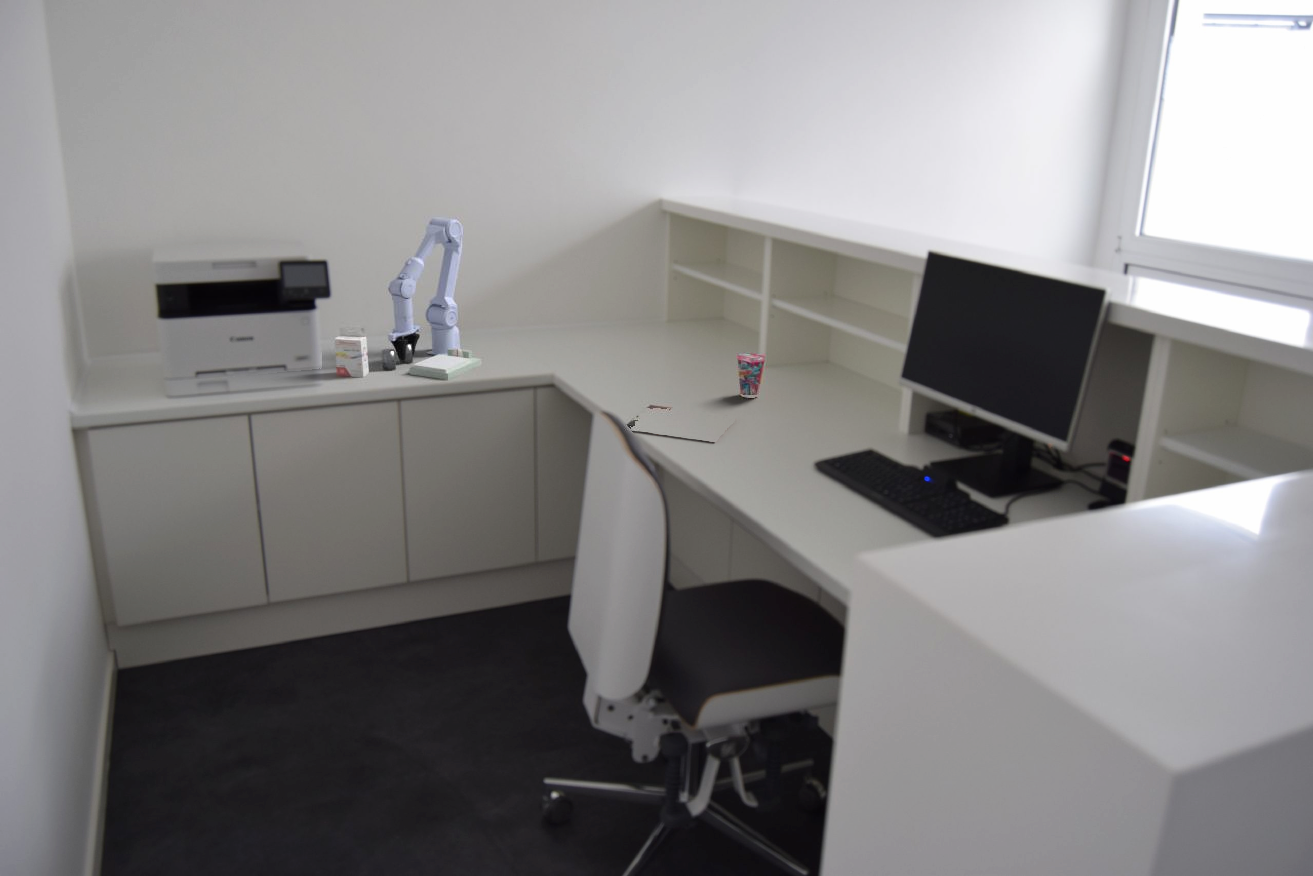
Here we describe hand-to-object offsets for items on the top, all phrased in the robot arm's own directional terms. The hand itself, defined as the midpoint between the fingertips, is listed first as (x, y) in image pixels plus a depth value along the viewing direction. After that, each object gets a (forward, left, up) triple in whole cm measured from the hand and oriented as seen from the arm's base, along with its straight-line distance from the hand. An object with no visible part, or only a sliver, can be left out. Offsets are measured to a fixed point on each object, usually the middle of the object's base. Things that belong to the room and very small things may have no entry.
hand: (406, 357), depth 320 cm
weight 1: (+9, 0, -1) cm, 9 cm away
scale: (+1, +16, -1) cm, 16 cm away
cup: (-14, +111, -2) cm, 112 cm away
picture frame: (+19, +102, -2) cm, 104 cm away
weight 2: (0, 0, -1) cm, 1 cm away
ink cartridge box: (+19, -6, -2) cm, 20 cm away
